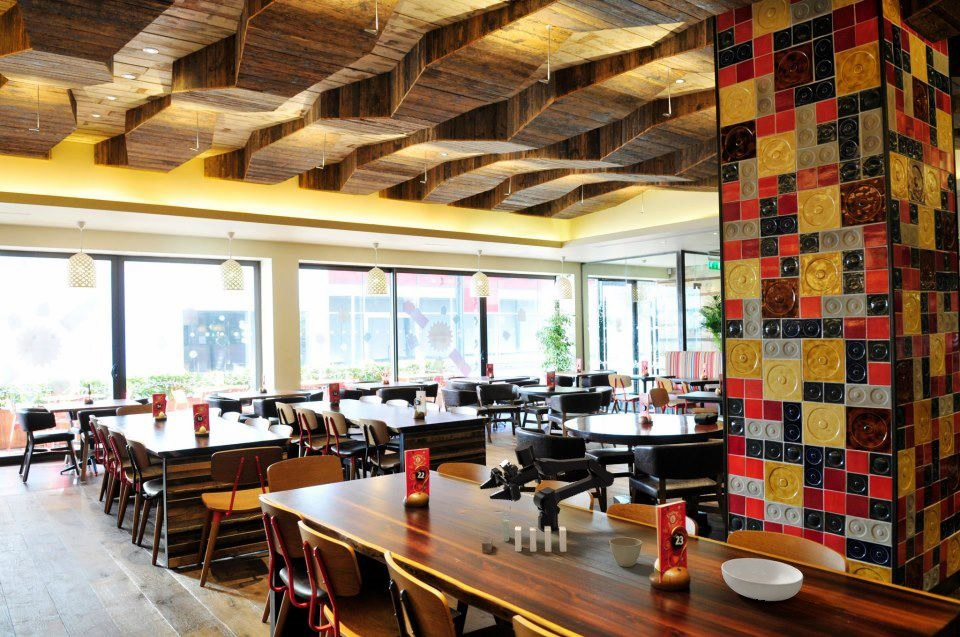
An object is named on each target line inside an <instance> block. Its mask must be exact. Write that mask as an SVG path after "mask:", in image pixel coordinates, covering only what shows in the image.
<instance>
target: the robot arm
mask: <svg viewBox="0 0 960 637" xmlns="http://www.w3.org/2000/svg"><path fill="white" fill-rule="evenodd" d="M514 453H515V458H516V460H517V463H518V465H519V466H522V468H520V469H519V467H518V466H517V465H516V464H512V463H511V462H510V461H509V460H508V459H506V458H504V459H503V460H502V461H501V462H500V463H499V464H498V466H499V467H500V468H501V469H502V470H503V471H502V470H500V468H499V467H494V468H491V469H490V475H489V477H488V478H487V479H486V480H485V481H484V482H483V483H482V484H481V485H479V490H488V489H489V490H490V489H497V488H498V487H502V486H503V488H502V489H499V490H498V491H496V492H494V493H492V494H491V495H489V498H490V500H502V501H511V502H517V501H520V500H521V498H522V493H521V489H520V488H522V489H524V488H525V486H526V485H527V484H529V483H532V482H533V481H534V483H536V484H538V485H541V483H542V480H543V477H542V476H540V474H541V475H543V476H546V477H551V476H555V475H558V474H559V473H561V472H569V471H578V470H587V471H588V473H589V475H588V476H587V477H585V478H582V479H580V480H578V481H574V482H572V483H569V484H567V485H564V486H562V487H559V488H556V489H554V488H551V487H550V486H545V488H542V489H537V492H535V493H534V495H533V498H532V501H533V504H534V505H535V506H536V507H537V510H538V512H539V513H538V514H539V515H538V517H537V522H538V523H537V524H538V525H537V527H538V529H540V530H541V531H543V532H545V526H550V527H551V532H553V531H559V514H560V512H561V507H559V503H561V501H564V500H567V499H569V498H572V497H574V496H577V495H579V494H582V493H584V492H588V491H590V490H592V489H604V488H608V487H611V486H612V485H614V482H615V475H614V474H613V472H611V471H610V470H607V469H606V468H605V467H603V466H602V465H601V464H599V462H598V461H597V460H596V459H594V458H593V457H589V456H586V457H580V458H571V459H570V458H568V459H553V458H544V457H541V458H537V457H536V455H535V451H534V447H533V445H532V444H527V445H526V444H525V445H519V446H518V447H515V448H514Z"/></svg>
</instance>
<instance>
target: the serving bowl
mask: <svg viewBox="0 0 960 637" xmlns="http://www.w3.org/2000/svg"><path fill="white" fill-rule="evenodd" d="M720 569H721V573H722V577H723V580H724V581H725V583H726V585H727V586H728V587H729V588H730V589H732V590H733V591H734V592H735V593H737V594H739V595H741V596H744V597H746V598H750V599H753V600H756V599H758V600H757V601H761V600H765V601H764V602H772V601H773V602H777V601H784V600H788V599H790V598H792V597H794V596H796V595H797V594H798V593H799V591H800V590H801V588H802V586H803V582H804V575H803V573H802V572H801V571H800V570H799V569H798V568H796V567H793V566H792V565H790V564H788V563H787V564H786V563H784V562H780V561H776V560H775V561H774V560H772V559H771V560H770V559H766V558H765V559H763V558H753V557H752V558H749V557H746V558H745V557H744V558H734V559H730V560H727V561H725V562H723V563H722V564H721V568H720Z"/></svg>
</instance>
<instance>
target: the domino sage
mask: <svg viewBox="0 0 960 637" xmlns="http://www.w3.org/2000/svg"><path fill="white" fill-rule="evenodd" d="M502 541H503V542H510V517H503V518H502Z"/></svg>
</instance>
